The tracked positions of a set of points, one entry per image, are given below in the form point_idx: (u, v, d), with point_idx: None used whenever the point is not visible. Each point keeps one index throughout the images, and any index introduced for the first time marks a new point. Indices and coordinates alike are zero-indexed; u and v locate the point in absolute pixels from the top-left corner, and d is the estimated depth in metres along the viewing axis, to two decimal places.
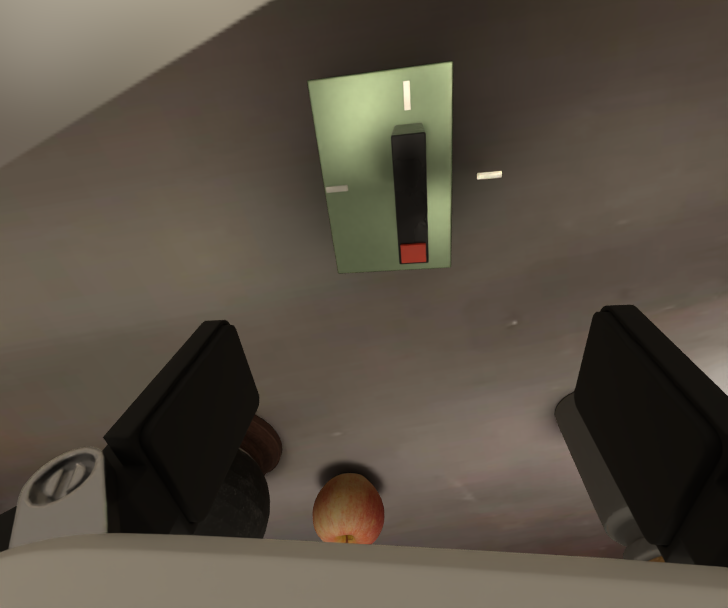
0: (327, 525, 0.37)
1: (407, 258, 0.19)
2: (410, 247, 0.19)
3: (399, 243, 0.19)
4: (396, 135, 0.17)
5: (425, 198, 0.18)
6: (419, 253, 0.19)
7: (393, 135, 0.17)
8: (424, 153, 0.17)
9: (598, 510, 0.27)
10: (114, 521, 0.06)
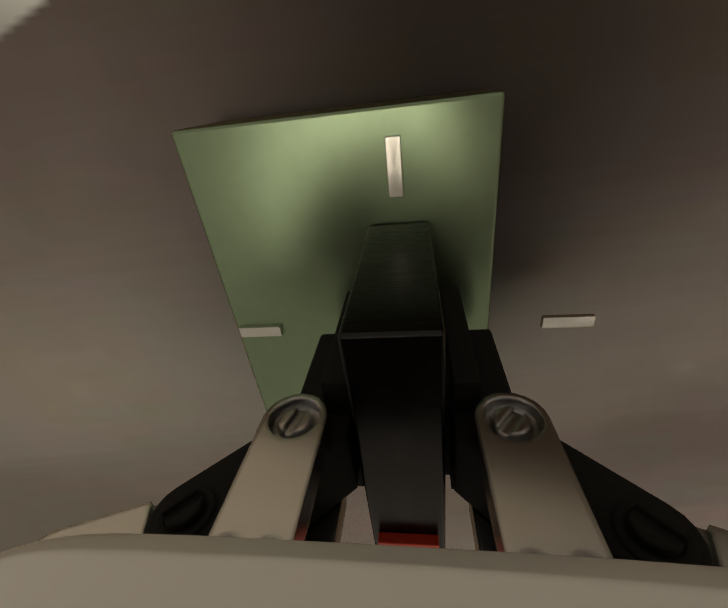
0: None
1: None
2: (402, 543, 0.08)
3: (375, 529, 0.08)
4: (354, 333, 0.05)
5: (440, 465, 0.07)
6: None
7: (345, 331, 0.06)
8: (440, 380, 0.06)
9: None
10: (312, 489, 0.06)
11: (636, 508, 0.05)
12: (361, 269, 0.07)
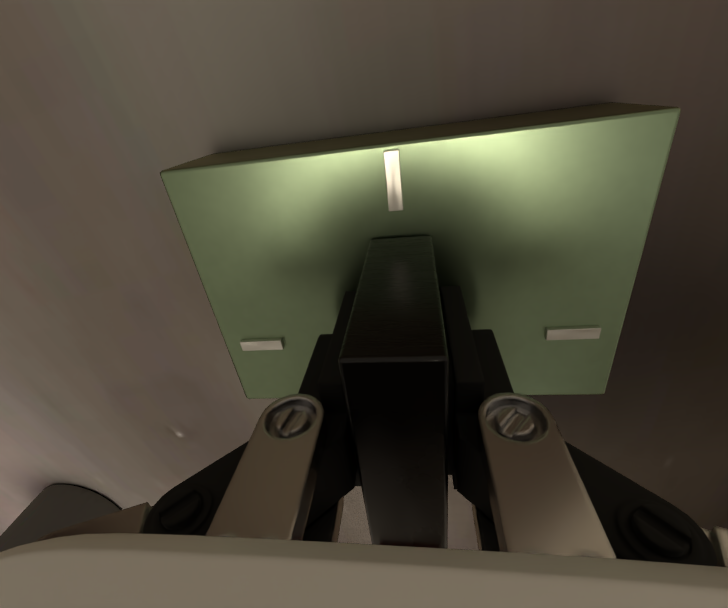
0: None
1: None
2: None
3: None
4: (355, 357, 0.05)
5: (442, 488, 0.07)
6: None
7: (346, 355, 0.05)
8: (442, 406, 0.06)
9: None
10: (310, 489, 0.06)
11: (640, 508, 0.05)
12: (363, 286, 0.07)
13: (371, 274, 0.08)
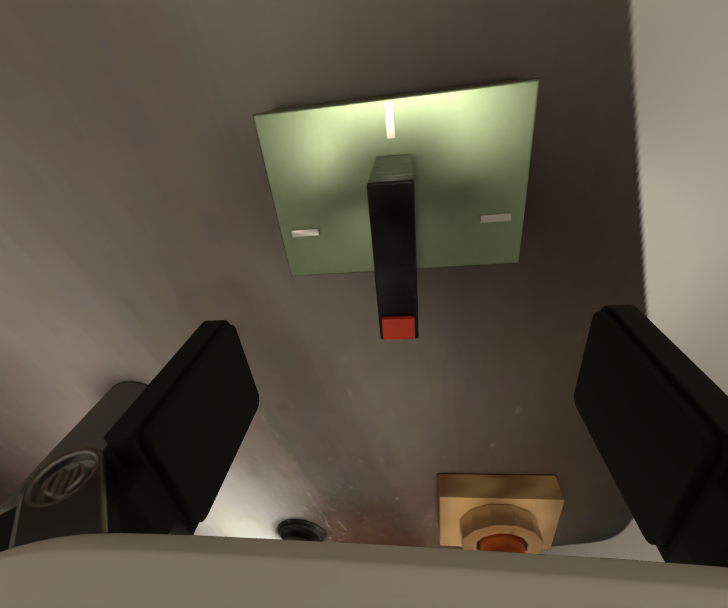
0: None
1: (390, 334, 0.15)
2: (394, 321, 0.15)
3: (380, 315, 0.15)
4: (374, 183, 0.12)
5: (414, 263, 0.13)
6: (406, 328, 0.15)
7: (370, 183, 0.12)
8: (412, 207, 0.12)
9: None
10: (113, 521, 0.06)
11: None
12: (374, 169, 0.14)
13: (378, 166, 0.14)
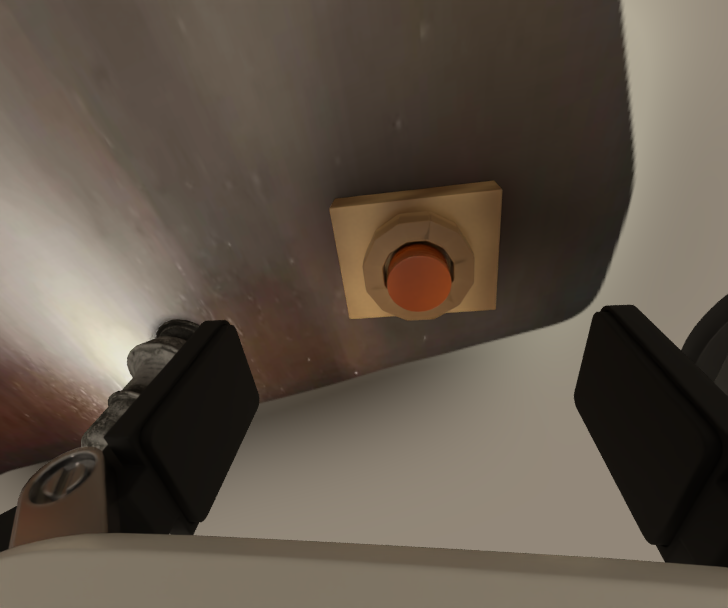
0: None
1: None
2: None
3: None
4: None
5: None
6: None
7: None
8: None
9: None
10: (114, 521, 0.06)
11: None
12: None
13: None
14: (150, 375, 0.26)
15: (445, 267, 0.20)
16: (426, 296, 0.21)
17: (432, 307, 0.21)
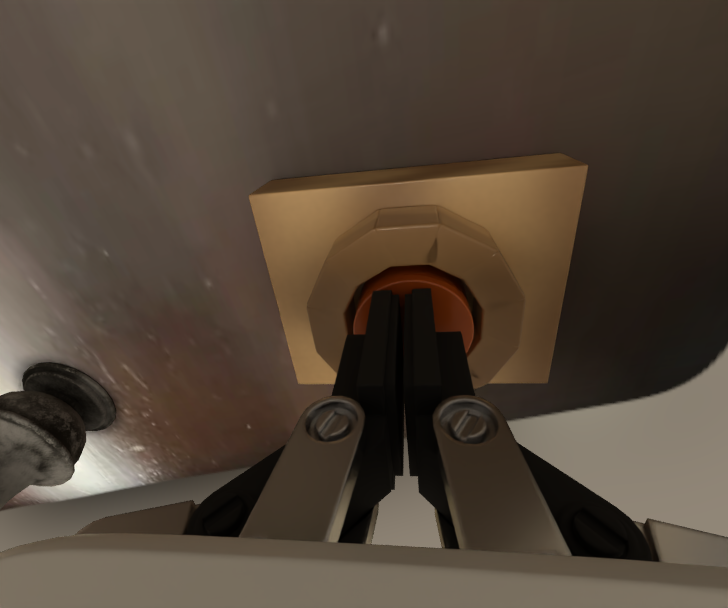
0: None
1: None
2: None
3: None
4: None
5: None
6: None
7: None
8: None
9: None
10: (346, 498, 0.05)
11: (582, 510, 0.05)
12: None
13: None
14: None
15: (464, 304, 0.10)
16: None
17: None
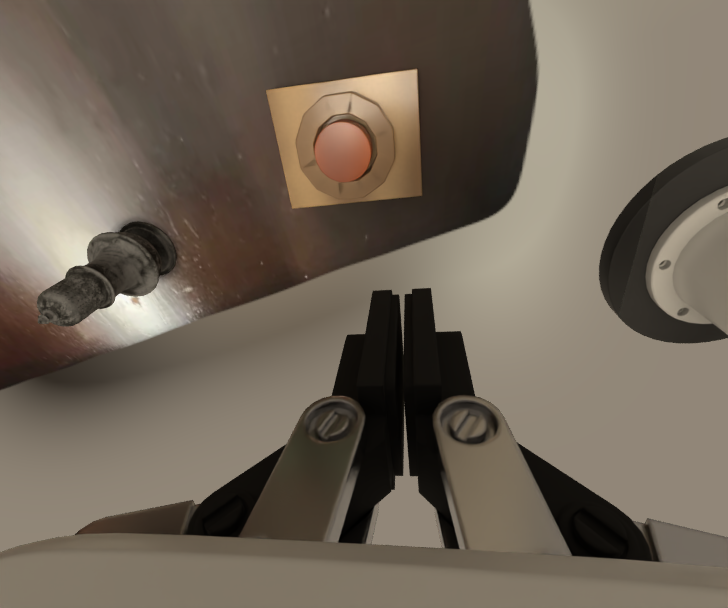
0: None
1: None
2: None
3: None
4: None
5: None
6: None
7: None
8: None
9: None
10: (346, 499, 0.05)
11: (582, 510, 0.05)
12: None
13: None
14: (107, 259, 0.28)
15: (364, 133, 0.22)
16: (350, 165, 0.23)
17: (356, 177, 0.24)
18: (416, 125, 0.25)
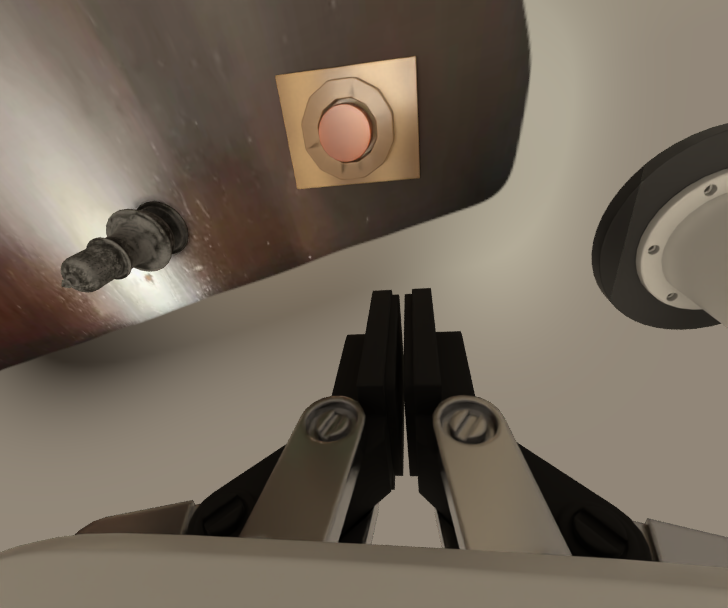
0: None
1: None
2: None
3: None
4: None
5: None
6: None
7: None
8: None
9: None
10: (346, 499, 0.05)
11: (582, 510, 0.05)
12: None
13: None
14: (124, 233, 0.30)
15: (364, 115, 0.24)
16: (351, 145, 0.25)
17: (357, 156, 0.25)
18: (414, 110, 0.26)
